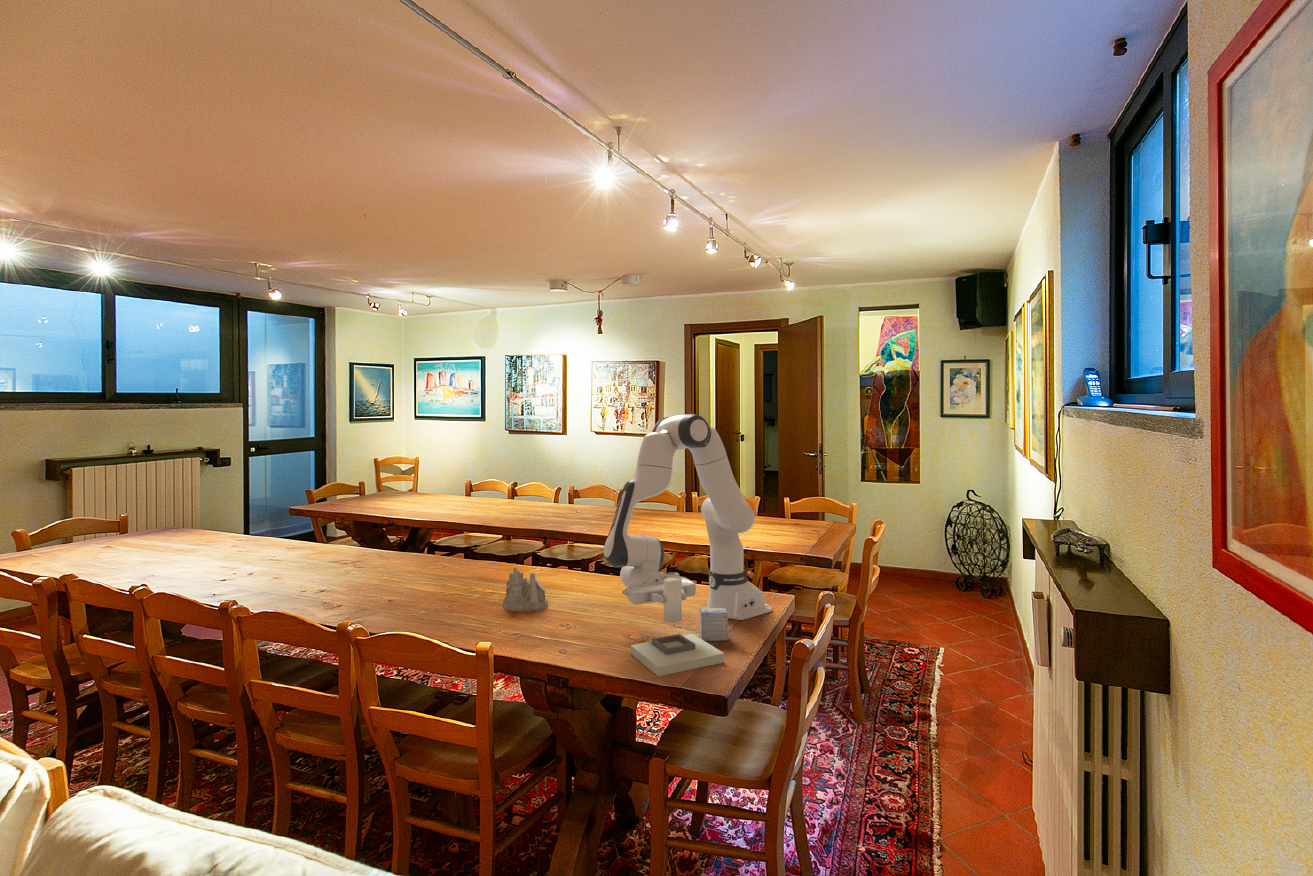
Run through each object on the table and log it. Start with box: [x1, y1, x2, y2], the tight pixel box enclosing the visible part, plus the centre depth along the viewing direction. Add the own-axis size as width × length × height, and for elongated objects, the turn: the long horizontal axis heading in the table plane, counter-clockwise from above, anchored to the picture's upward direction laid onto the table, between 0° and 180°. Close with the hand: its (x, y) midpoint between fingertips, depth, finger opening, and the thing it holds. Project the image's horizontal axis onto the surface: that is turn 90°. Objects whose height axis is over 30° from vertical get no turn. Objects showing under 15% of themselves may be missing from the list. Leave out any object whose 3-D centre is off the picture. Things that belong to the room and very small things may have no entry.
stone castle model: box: [502, 566, 549, 612], centre depth 227 cm, size 16×16×15 cm
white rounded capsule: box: [663, 578, 683, 623], centre depth 179 cm, size 5×5×11 cm
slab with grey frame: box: [630, 633, 725, 677], centre depth 178 cm, size 20×17×4 cm
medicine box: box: [699, 607, 729, 642], centre depth 193 cm, size 8×4×9 cm, turn 92°
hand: (674, 598), depth 178 cm, fingers closed on white rounded capsule, 5 cm apart
